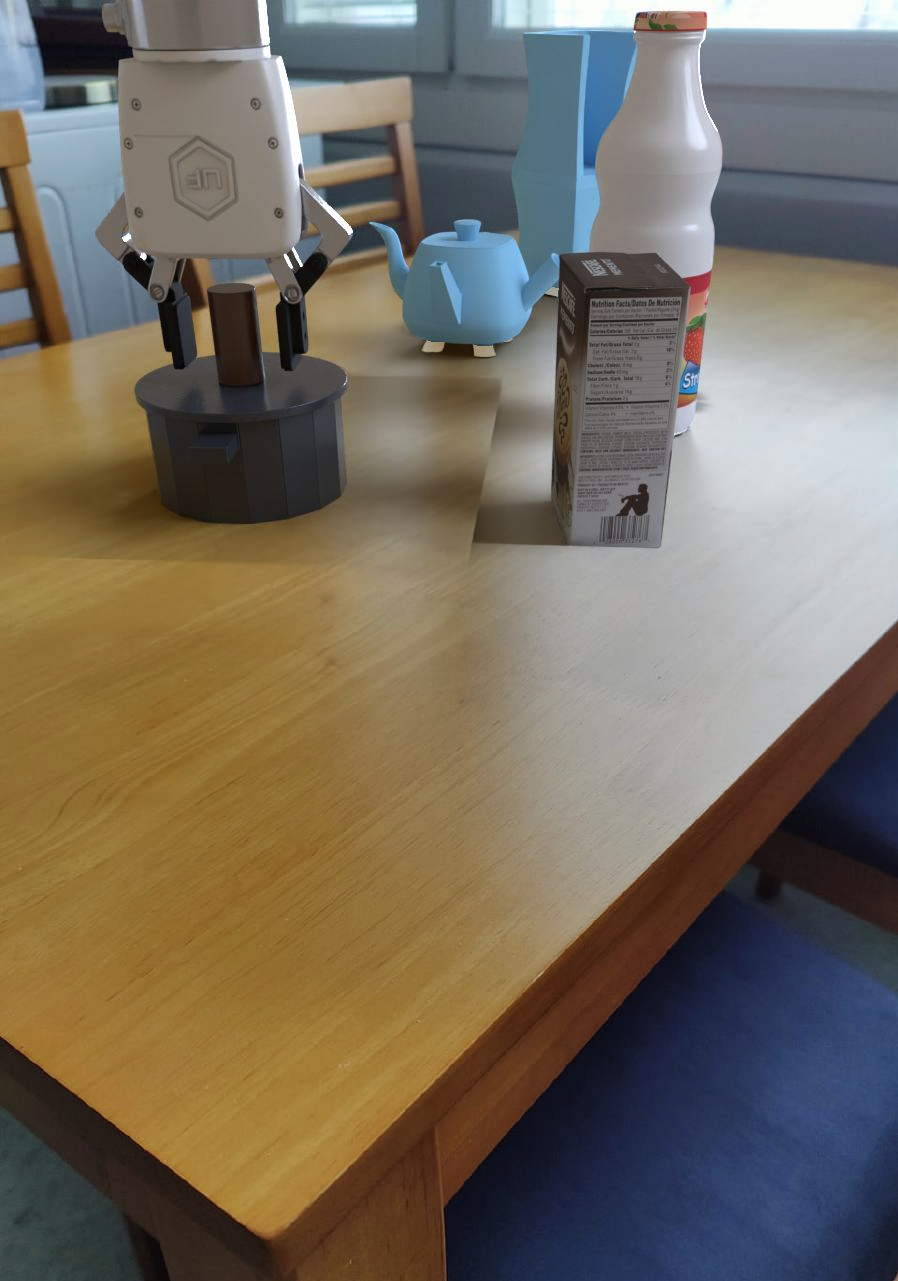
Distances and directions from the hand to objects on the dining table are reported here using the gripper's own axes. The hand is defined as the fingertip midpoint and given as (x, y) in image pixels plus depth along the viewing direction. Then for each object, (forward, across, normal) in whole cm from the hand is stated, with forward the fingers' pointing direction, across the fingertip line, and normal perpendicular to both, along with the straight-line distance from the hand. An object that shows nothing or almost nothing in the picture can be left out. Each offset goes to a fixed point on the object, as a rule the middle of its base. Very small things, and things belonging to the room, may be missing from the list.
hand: (238, 362), depth 73 cm
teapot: (+10, +11, +44) cm, 47 cm away
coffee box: (+10, +24, 0) cm, 26 cm away
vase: (+10, +21, +71) cm, 75 cm away
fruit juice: (+10, +27, +21) cm, 36 cm away
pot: (+10, 0, 0) cm, 10 cm away
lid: (+2, 0, 0) cm, 2 cm away
